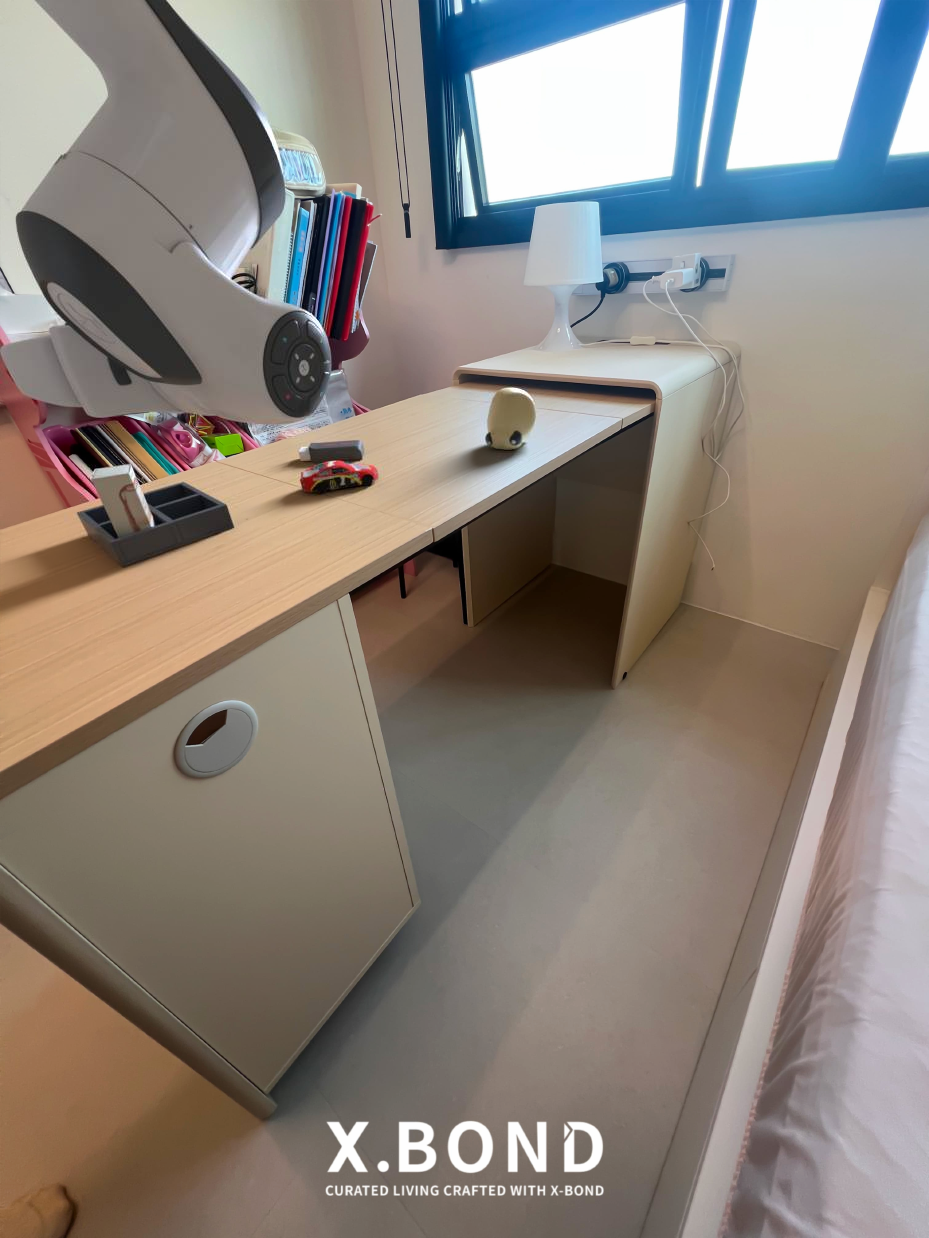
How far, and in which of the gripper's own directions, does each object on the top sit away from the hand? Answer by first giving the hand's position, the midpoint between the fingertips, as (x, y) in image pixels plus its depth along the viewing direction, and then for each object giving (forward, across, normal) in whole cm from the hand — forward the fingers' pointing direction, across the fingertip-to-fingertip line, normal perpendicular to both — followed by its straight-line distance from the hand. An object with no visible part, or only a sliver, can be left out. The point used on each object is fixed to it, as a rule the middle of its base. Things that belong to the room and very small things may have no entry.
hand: (104, 351), depth 50 cm
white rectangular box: (+12, 0, +24) cm, 27 cm away
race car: (+5, -31, +25) cm, 40 cm away
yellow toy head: (-10, -64, +25) cm, 69 cm away
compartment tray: (+15, -4, +25) cm, 29 cm away
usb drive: (+18, -41, +25) cm, 51 cm away
